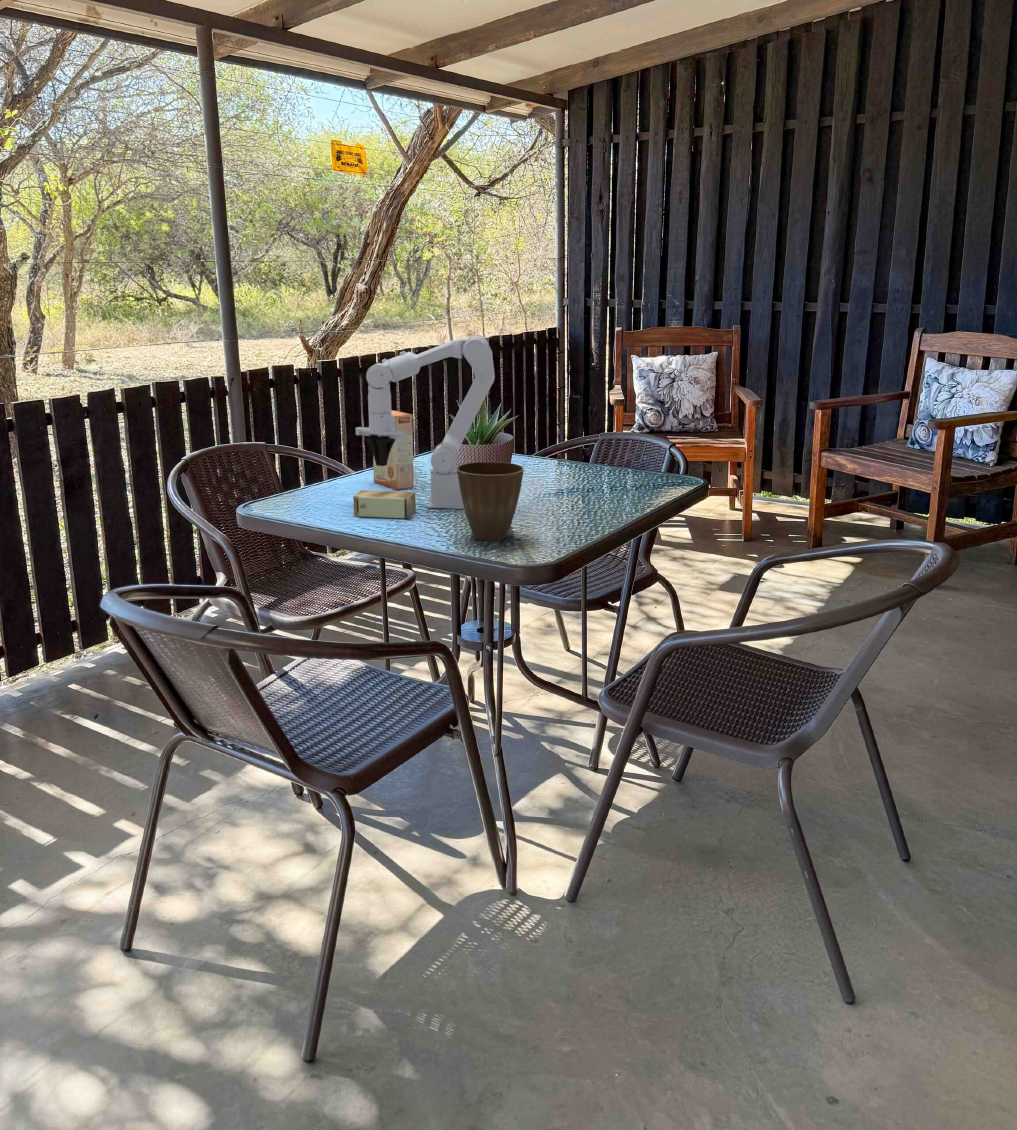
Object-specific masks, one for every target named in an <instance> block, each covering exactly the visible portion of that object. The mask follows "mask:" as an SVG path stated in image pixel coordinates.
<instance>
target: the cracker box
mask: <svg viewBox="0 0 1017 1130" xmlns="http://www.w3.org/2000/svg"><path fill="white" fill-rule="evenodd" d="M391 415H392V428H393V429H395V430H400V431H406V439H404V440H399V439H395V442H394V444H393V446H392V448H391V450H390V453H389V457H388V461H387V465H386V466H376V462H375V459H374V455H373V454H372V457H373V459H372V461H373V462H372V463H373V483H376V484H379V485H381V486H384V487H386V488H390V489H392V490H396V491H400V490H408V488H410V489H413V488H414V435H413V433H414V432H413V431H414V428H413V427H414V426H413V424H414V421H413V418H414V417H413V414H411V413H406V412H402V411H398V410H392V409H391ZM377 435H380V434H377Z"/></svg>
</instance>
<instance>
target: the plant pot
mask: <svg viewBox="0 0 1017 1130" xmlns="http://www.w3.org/2000/svg"><path fill="white" fill-rule="evenodd" d="M456 467H457V473H458V479H459V486H460V491H461V496H462V501H463V505H464V508H463V509H464V512H465V516H466V519H467V521H468V524H469V529H470V531H471V533H472V536H473V537H474V538H475V539H476V540H478V541H485V542H492V541H493V542H495V541H500V540H501V541H502V540H504V539H506V538H507V535H508V533H509V531H510V528H511V525H512V522H513V520H514V516H515V513H516V509H517V505H518V502H519V498H520V494H521V490H522V489H521V488H522V485H523V484H522V483H523V478H524V477H523V476H524V471H525V470H524V469H525V468H524V467H523V466H522V465H520V464H517V463H511V462H502V461H477V462H476V461H475V462H469V463H463V464H460V465H458V466H456Z"/></svg>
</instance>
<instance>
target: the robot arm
mask: <svg viewBox="0 0 1017 1130" xmlns="http://www.w3.org/2000/svg"><path fill="white" fill-rule="evenodd" d="M463 357H464V358H465V359H466V361H467V362H468V364H469V365H470V366H471V370H472V372H473V374H474V375H473V376H474V379H473V382H472V384H471V385H470V388H469V390H468V391H467V393H466V395H465V397H464V399H463V401H462V403H461V405H460V407H459V409H458V411H457V413H456V416H455V417H454V419H453V421H452V422H451V425H450V427H449V429H448V430H447V432H446V434H445V436H444V438H443V440H442V442H441V443H439V444H437V445H436V446H435V448H433V449H434V450H433V452H432V454H431V457H430V464H431V467H432V468H431V469H430V471H429V472H430V502H429V503H428V504H427V505H426V507H427V509H431V508H433V509H455V510H456V509H457V510H458V509H459V510H463V509H464V505H463V501H462V496H461V491H460V486H459V479H458V473H457V467H458V466H456V463H457V459H458V452H459V450H460V448H461V446H462V443H463V442H464V439H465V437H466V436H467V434H468V432H469V430H470V428H471V426H472V424H473V423H474V421H475V418H476V417H477V415H478V413H479V411H480V408H481V407H482V405H483V403H484V401H485V399H486V398H487V395H488V393H489V391H490V389H491V387H492V385H493V384H494V382H495V378H496V376H495V375H496V374H495V367H494V360H493V359H494V358H493V351H492V349H491V347H490V344H489V343H488V340H487V339H486V338H485V337H484V336H482V335H479V334H474V335H471V336H468V337H462V338H461V337H460V338H456V339H452V340H450V341H447V342H445V343H442V344H440V345H438V346H435V347H432V348H429V349H428V350H425V351H423V352H420V353H418V354H415V353H414V352H412V351H407V352H406V351H405V350H403V351H401V352H399V355H397V356H394V357H392V358H389V359H387V358H384V359H382V360H381V362H380V363H379V362H378V363H375V364H373V365H371V366H370V367H368V369H367V371H366V374H365V375H366V376H365V378H366V381H367V383H368V387H367V390H368V394H367V402H368V404H367V405H368V426H366V427H364V426H358V427H355V435H356V436H364V437H365V436H366V437H368V438H366V440H365V441H366V443H367V444H368V446H369V448H370V451H371V453H372V456H373V455H374V459H375V462H376V466H386V465H387V461H388V457H389V453H390V450H391V448H392V446H393V444H394V442H395V439H399V440H404V439H406V431H400V430H395V429H393V428H392V415H391V410H392V393H391V382H393V383H396V382H399V381H402V380H404V379H406V378H410V377H412V376H414V375H417V374H419V372H420V369H421V367H425V366H426V365H429V364H433V363H435V362H438V361H441V360H443V359H448V358H455V359H463ZM377 434H380V435H377Z"/></svg>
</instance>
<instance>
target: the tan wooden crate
mask: <svg viewBox="0 0 1017 1130" xmlns="http://www.w3.org/2000/svg"><path fill="white" fill-rule="evenodd" d="M359 496H361V497H386V498H405V518H404V519H407V518H406V498H411V517H413V515H414V514H415V513H416V512H417V509H416V504H417V503H416V491H391V490H390V491H389V490H388V491H387V490H386V491H385V490H364V489H362V490H359V491H358V492H357V493H355V494H354V495H353V496H352V497H353V499H352V500H353V516H354V517H360V516H359V506H358V497H359Z"/></svg>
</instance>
